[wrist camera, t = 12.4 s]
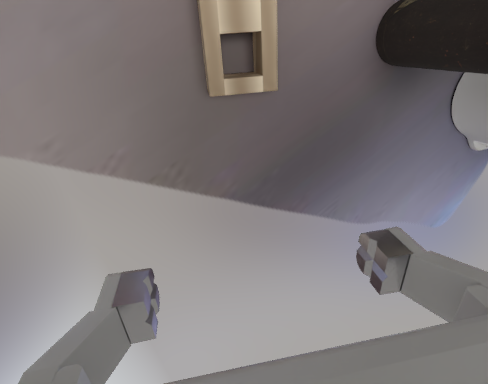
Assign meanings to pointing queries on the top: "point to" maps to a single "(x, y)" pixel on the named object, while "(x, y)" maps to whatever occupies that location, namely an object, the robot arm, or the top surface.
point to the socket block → (239, 21)
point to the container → (436, 35)
